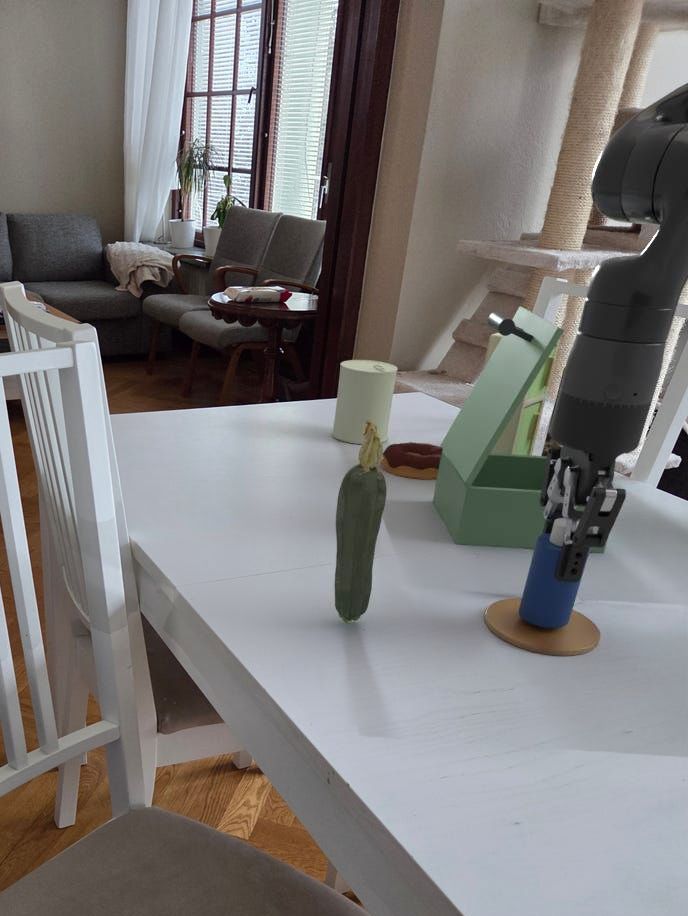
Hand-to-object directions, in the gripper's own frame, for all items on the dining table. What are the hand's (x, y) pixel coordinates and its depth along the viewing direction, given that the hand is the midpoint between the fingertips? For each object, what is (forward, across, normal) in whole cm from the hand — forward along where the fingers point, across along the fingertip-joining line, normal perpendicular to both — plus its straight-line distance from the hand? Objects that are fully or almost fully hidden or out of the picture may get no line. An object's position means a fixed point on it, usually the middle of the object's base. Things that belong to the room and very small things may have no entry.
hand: (557, 567), depth 82 cm
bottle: (+5, 0, 0) cm, 5 cm away
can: (+7, +65, +11) cm, 66 cm away
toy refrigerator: (+7, +43, -6) cm, 44 cm away
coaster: (+7, 0, 0) cm, 7 cm away
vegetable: (+7, -2, +20) cm, 21 cm away
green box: (+7, +26, -4) cm, 27 cm away
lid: (-10, +26, +1) cm, 28 cm away
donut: (+7, +47, +5) cm, 48 cm away
